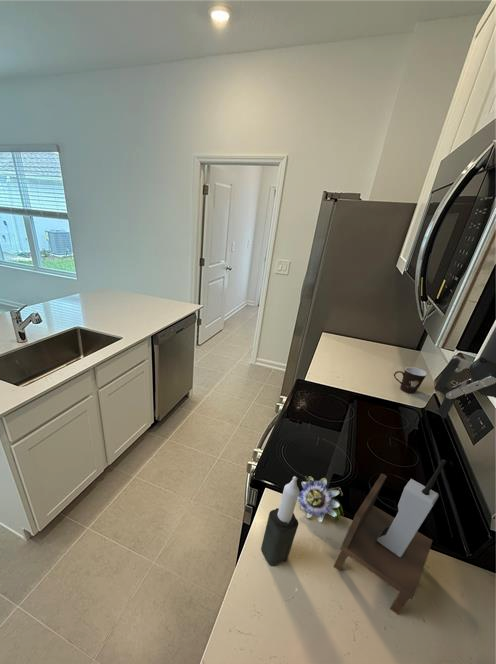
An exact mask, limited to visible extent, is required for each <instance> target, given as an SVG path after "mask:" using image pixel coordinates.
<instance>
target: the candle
mask: <svg viewBox="0 0 496 664" xmlns="http://www.w3.org/2000/svg"><path fill="white" fill-rule="evenodd" d="M297 481H298V477H297V476H295V475H293V476H292V479H291V481H290V482H288V483H286V484H285V485H284V487H283V491H282V495H281V499H280V502H279V506H278V508H277V507H276V508H275V509H273V510H270V511H269V513H268V518H267V522H266V525H265V529H264V533H263V539H262V543H261V547H260V551H261V553H262V555H263V557H264V558H265V561H266V562H267V564H268V565H269V566H271V567H275V566H276V565H278V564H281V563H286V562H287V561H288V558H289V556H290V552H291V550H292V546H293V543H294V540H295V536H296V533H297V531H298V527H299V521H298V518H297V517H296V515H295V513H294V511H295V507H296V504H297V502H298V500H297V498H298V495H299V492H300V488H299V487H298V483H297Z"/></svg>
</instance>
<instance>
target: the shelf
mask: <svg viewBox="0 0 496 664" xmlns="http://www.w3.org/2000/svg"><path fill="white" fill-rule="evenodd" d="M387 477H388V476H387V475H386V474H385V473H380V475H379V477H378V478H377V480H376V481H375V482H374V485H373V486H372V488H371V489H370V491H369V492H368V494H367V495H366V497H365V499H364V500H363V502H362V503H361V505H360V507H359V508H358V510H357V511H356V513H355V514H354V517H353V518H352V521H351V523H350V524H349V525H350V526H349V528H348V530H347V532H346V535H345V537H344V538H343V541H342V543H341V546H340V548H339V550H340V551H339V554H338V556H337V558H336V560H335V562H334V565H333V567H334V568H335V569H337V570H338V571H339V572H340V571H341V570H342V568H343V567H344V565H345V563H346V560H347V559H348V557H350V558H351V559H352V560H354V561H355V562H357V563H358V564H359V565H361V566H363V567H364V568H365V569H367V570H368V571H369V572H371V573H372V574H374V575H375V576H377V577H378V578H379V579H381V580H382V581H384V582H385V583H386V584H388V585H389V586H391V587H392V588H393V589H395V590H396V591H398V592H399V593H398V594H397V595H396V597H395V598H394V600H393V601H392V603H391V605H390V606H389V607H390V608H389V610H390V611H392V612H394V614H396V615H399V614H400V612H401V611H402V610H403V608H404V607H405V606H406V605H407V603H408V601H409V600H410V601H411V600H413V598H414V597H415V596H416V591H417V589H418V587H419V583H420V580H421V576H422V575H423V571H424V568H425V565H426V563H427V559H428V556H429V553H430V549H431V547H432V544H433V539H431V538H429V537H428V536H426V535H424V534H422V533H421V532H419V531H417V532H416V534H415V535H414V537H413V539H412V540H411V542H410V543H409V545H408V547H407V548H406V550H405V551H404V553H403V555H402V556H401V557H399V556H397V555H396V554H394V553H393V552H392V551H390V550H389V549H387V548H386V547H385V546H383V545H382V544H380V543H379V542H378V541H377V539H378V537H379V535H380V534H381V533H382V531H383V530H384V528H386V527H389V526H391V524H392V522H393V521H394V519H395V517H394V516H392V515H390V514H389V513H387V512H385V511H384V510H382V509H381V508H378V507H377V506H375V505H374V504H375V502H376V500H377V499H378V496H379V494H380V492H381V490H382V487H383V485H384V483H385V481H386V479H387Z"/></svg>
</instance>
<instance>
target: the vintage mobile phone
mask: <svg viewBox="0 0 496 664" xmlns="http://www.w3.org/2000/svg"><path fill="white" fill-rule="evenodd" d="M446 463H447V460H445V459H441V461H440V463H439V464H438V466H437V468H436V470H435V471H434V473H433V475H432V476H431V477H430V479H429V480H428V481H427V484H426V485H424V484H422V483H420V482H418V481H416V480H414V479H413V478H410V480H409V481H408V482H407V483H406V485H404V488H403V491H402V493H401V496H400V497H399V498H400V499H399V501H398V504H397V509H398V512H397V513H396V516H395V517H394V518H395V519H394V521H393V522H392V524H391V526H389V527H386V528H384V530H383V531H382V533H381V534H380V535H379V537H378V539H377V541H378V542H379V543H380V544H382V545H383V546H385V547H386V548H387V549H389V550H390V551H392V552H393V553H394V554H396V555H397V556H399V557H401V556H402V555H403V553H404V551H405V550H406V548H407V547H408V545H409V543H410V542H411V540H412V539H413V537H414V535H415V534H416V532H419V529H420V528H421V526H422V524H424V522H425V520H426V518H427V517H428V515H429V514H430V511H431V510H432V508H433V507H434V505H435V504H436V502H437V500H438V499H439V496H440V495H439V493H438V492H436V491H434V490H432V488H433V486H434V484H435V483H436V480H437V478H438V476H439V475H440V473H441V471H442V470H443V468H444V466H445V464H446Z"/></svg>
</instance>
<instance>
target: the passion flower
mask: <svg viewBox="0 0 496 664" xmlns="http://www.w3.org/2000/svg"><path fill="white" fill-rule="evenodd" d="M304 478H305V481H301V482H300V483H301V486H302V490H301V491H299V495H298V498H297V501H298V502H299V504H300V505H299V510H300V511H304V512H305V518H306V519H311V518H312V517H313V516H315V517H316V520H317V521H318V522H319V523H322V522H323V521H324V519H325V516H326V515H329V516H331V517H332V518H334V521H335V522H336V521H337V522H338V521H340V520H341V517H344V508H343V505H342V503H341V502H340V501H339V500H338V499H337V498H336V497H337V496H338V495H340V497H343V496H344V493H343V491H342V488H341V487H339V486H338V487H332V488H328V487H327V485H328V479H327V478H326V477H322V478H320V480H315V479H314V478H313V477H312V476H310V475H309V476H307V475H304ZM337 489H338V490H337Z"/></svg>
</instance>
